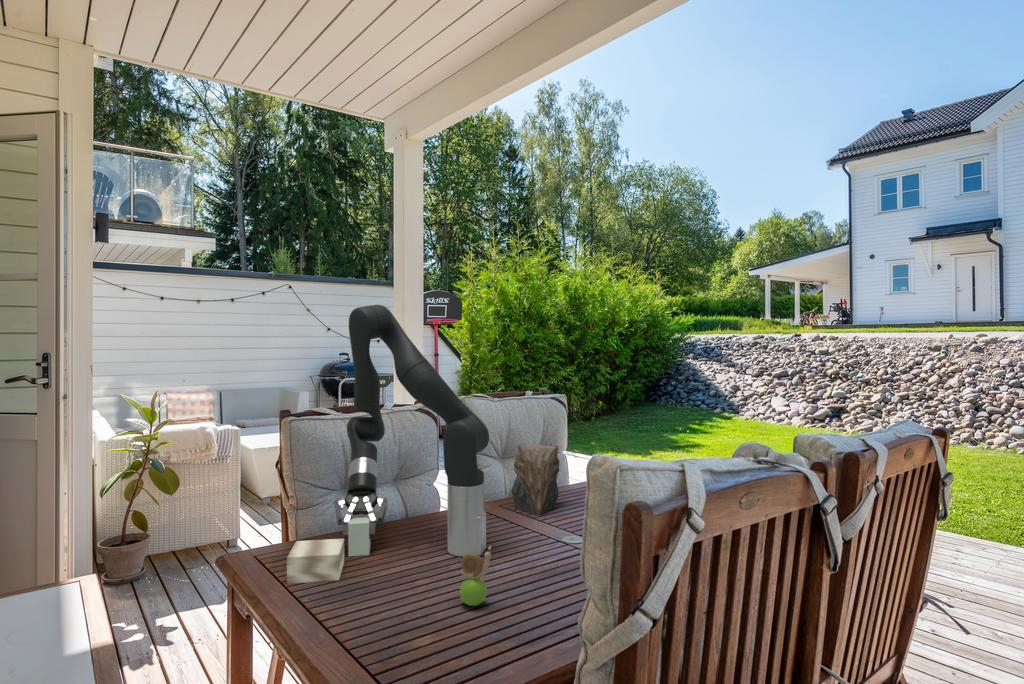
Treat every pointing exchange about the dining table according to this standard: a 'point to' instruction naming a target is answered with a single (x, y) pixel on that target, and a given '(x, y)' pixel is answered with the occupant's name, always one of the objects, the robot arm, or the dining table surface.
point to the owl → (536, 478)
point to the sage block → (358, 536)
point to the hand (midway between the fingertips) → (359, 537)
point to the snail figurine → (474, 578)
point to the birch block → (315, 561)
